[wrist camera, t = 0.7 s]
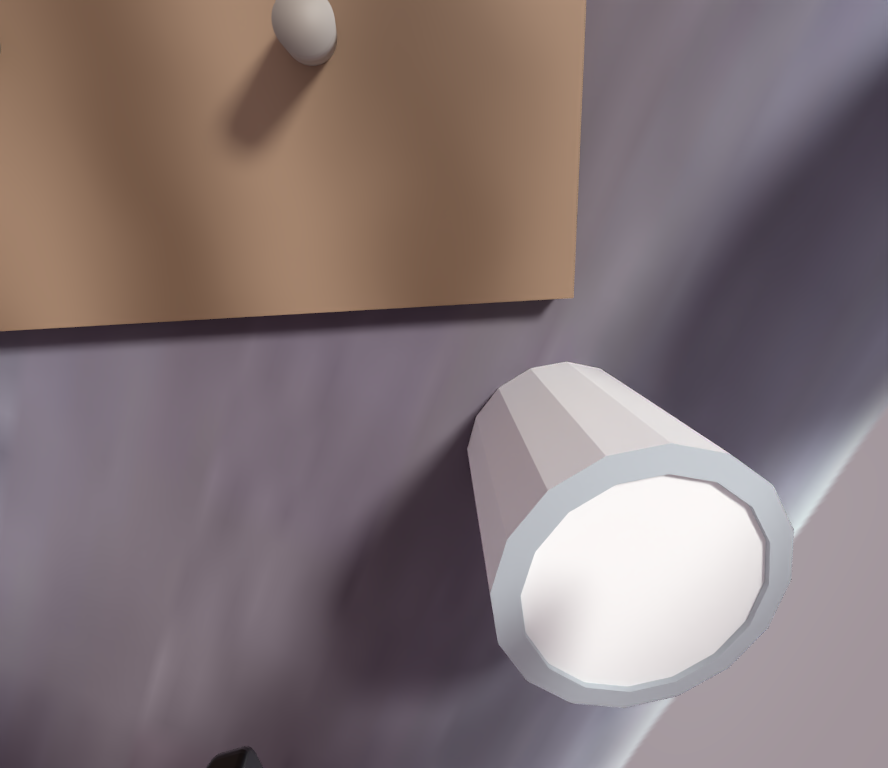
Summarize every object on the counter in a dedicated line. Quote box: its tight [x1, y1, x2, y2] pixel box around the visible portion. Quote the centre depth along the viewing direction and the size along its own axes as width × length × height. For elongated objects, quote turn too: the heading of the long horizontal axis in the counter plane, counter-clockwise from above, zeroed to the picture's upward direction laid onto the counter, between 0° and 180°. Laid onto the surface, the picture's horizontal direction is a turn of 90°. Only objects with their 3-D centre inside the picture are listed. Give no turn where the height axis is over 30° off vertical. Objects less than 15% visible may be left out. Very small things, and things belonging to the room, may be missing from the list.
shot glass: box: [467, 362, 794, 708], centre depth 18 cm, size 7×7×7 cm
